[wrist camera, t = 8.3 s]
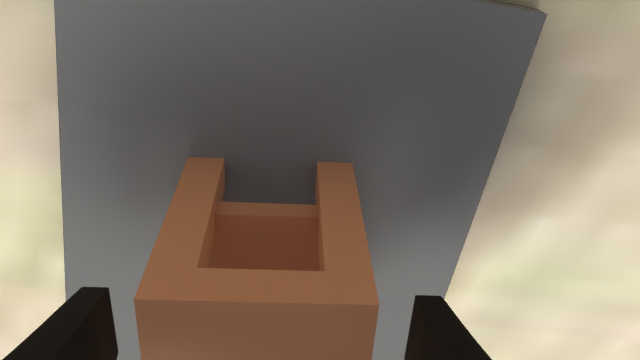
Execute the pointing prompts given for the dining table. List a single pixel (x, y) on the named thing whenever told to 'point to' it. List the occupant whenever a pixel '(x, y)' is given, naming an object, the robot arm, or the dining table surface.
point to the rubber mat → (284, 125)
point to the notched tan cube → (259, 274)
